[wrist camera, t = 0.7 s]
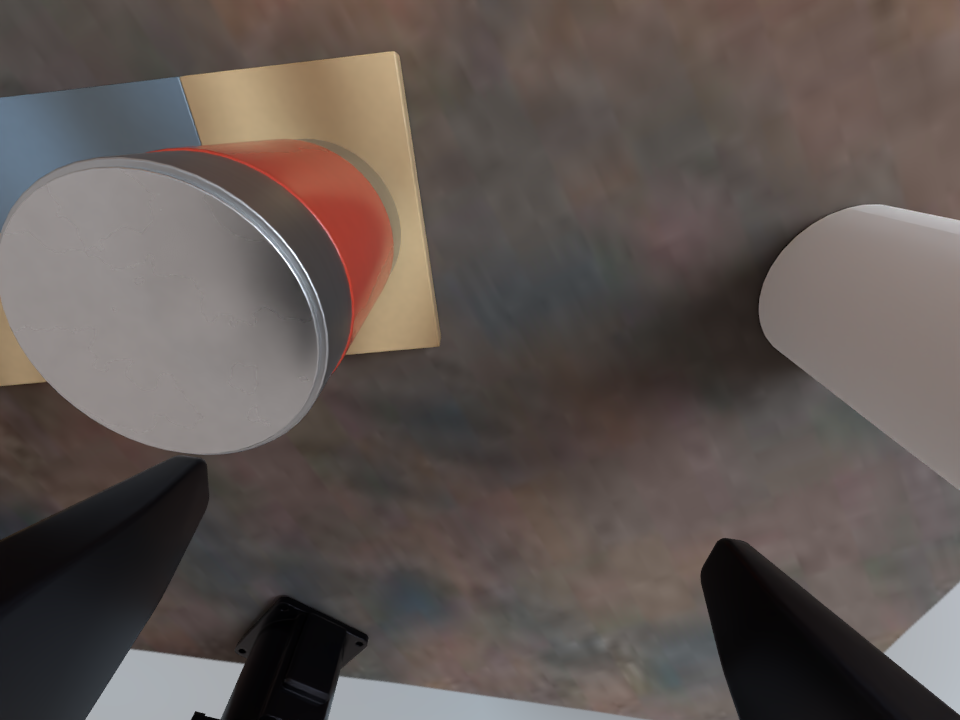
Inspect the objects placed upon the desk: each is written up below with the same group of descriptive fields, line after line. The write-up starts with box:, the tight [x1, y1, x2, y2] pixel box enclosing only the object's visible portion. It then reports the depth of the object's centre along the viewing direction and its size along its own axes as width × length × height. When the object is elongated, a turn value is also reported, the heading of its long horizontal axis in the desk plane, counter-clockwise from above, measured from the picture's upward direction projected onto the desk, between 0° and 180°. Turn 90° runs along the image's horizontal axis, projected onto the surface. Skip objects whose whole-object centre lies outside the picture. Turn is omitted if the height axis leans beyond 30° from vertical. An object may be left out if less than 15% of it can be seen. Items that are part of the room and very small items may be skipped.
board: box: [0, 51, 441, 386], centre depth 19 cm, size 24×11×1 cm, turn 96°
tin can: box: [0, 139, 401, 455], centre depth 14 cm, size 6×6×10 cm
